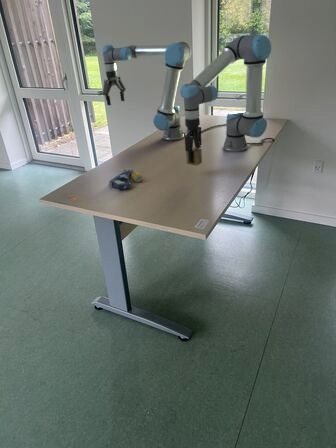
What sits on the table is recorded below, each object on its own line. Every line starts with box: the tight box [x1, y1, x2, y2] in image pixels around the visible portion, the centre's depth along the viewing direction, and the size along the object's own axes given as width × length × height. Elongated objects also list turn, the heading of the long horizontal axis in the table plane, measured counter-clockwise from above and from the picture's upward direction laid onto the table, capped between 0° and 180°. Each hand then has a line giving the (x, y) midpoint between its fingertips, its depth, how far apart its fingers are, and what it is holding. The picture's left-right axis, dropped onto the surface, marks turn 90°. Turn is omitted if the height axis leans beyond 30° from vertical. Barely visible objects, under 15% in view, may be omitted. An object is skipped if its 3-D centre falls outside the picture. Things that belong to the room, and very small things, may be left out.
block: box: [185, 146, 203, 167], centre depth 183 cm, size 5×7×8 cm
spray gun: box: [108, 168, 143, 191], centre depth 184 cm, size 21×4×15 cm
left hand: (116, 103), depth 238 cm, fingers open, 13 cm apart
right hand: (194, 160), depth 184 cm, fingers closed on block, 5 cm apart
